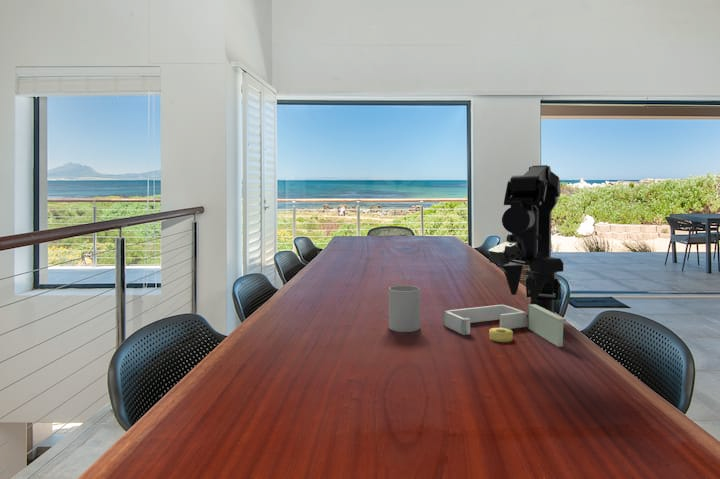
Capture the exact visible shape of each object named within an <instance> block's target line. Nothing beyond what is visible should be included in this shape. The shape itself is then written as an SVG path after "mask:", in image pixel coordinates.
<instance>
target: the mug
mask: <svg viewBox="0 0 720 479" xmlns="http://www.w3.org/2000/svg"><path fill="white" fill-rule="evenodd" d="M388 329H389V330H391V331H393V332H399V333H413V332H417V331H420V329H421V289H420V287H418V286H415V285H403V284H402V285H394V286H393V285H392V286H390V287H388Z"/></svg>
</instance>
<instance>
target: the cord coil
mask: <svg viewBox="0 0 720 479" xmlns="http://www.w3.org/2000/svg"><path fill="white" fill-rule="evenodd" d="M488 331H489V332H488V333H489V335H488V336H489V338H488V339H489V340H491V341H493V342H498V343H509V342H510V343H511V342H512V341H513V340H514V339H513V337H514V336H513V334H514V332H513V330H512V329H506V328H500V327H492V328H490V329H489V330H488Z"/></svg>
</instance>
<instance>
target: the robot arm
mask: <svg viewBox="0 0 720 479" xmlns="http://www.w3.org/2000/svg"><path fill="white" fill-rule="evenodd" d="M551 169H552V168H551V166H550V165H548V164H544V165H543V164H542V165H540V164H539V165H532V166H529V167H528V170H527V171H526V172H525V173H524V174H523V175H519V174H518V175H511V177H510V180H508V181H507V184H506V190H505V194H504V201H503V205H504V206H510V207H509V208H507V209H506V210H505V211H504V213H503V214H502V217H501V224H502V227H503V228H504V229H505V230H506V231H507V232H509V233H511V234H507V236H506V239H505V240H506V241H505V242H502V243H499V244H497V245H496V246H494V247H493V246H492V247H491V248H489V249H488V253H489V263H492V264H495V267H496V268H499V269H500V270H501V271H502V272H503V273H504V276H505V278H506V282H507V285H508V289H509V291H510V294H511V295H512V296H516V295H517V293H518V289H519V285H520V280H521V276H522V271H523V266H529V268H530V270H525V271H524V273H525V274H526V280H525V291H526V298H530V302H529V304H536V305H538V306H540V307H542V308H544V309H546V310H548V311H550V312H552V313H555V314H556V301H559V300H562V284H561V283H560V279H559V278H557V275H558V274H557V273H560V272H564V261H563V259H562V258H560V257H559V258H558V257H553V256H552V254H551V253H552V212H553V210H554V209H555V207H556V206H557V204H558V202H559V198H560V197H561V189H562V188H561V182H560V177H559V175H557V174H555V173H554V172H553V171H552V170H551ZM527 318H528V314H527Z"/></svg>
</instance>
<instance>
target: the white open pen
mask: <svg viewBox="0 0 720 479" xmlns="http://www.w3.org/2000/svg"><path fill="white" fill-rule="evenodd" d="M529 305H532V304H530V303H528V304H527V311H523V310H521V309H518V308H516V307H512V306H509V305H506V304H494V305H485V306H476V307H468V308H467V307H466V308H459V309H458V308H456V309H449V310H443V313H442V314H443V316H442V321H443V322H442V324H443V326H445V327H446V328H448V329H450V330H453V331H454V332H455V333H458V334H460V335H463V336H466V335H471V323H479V322H487V321H488V322H489V321H496V320H497V321H499V328H506V329H510V330H512V329H520V328H526V327H527V329H529ZM527 315H528V317H527Z"/></svg>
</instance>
